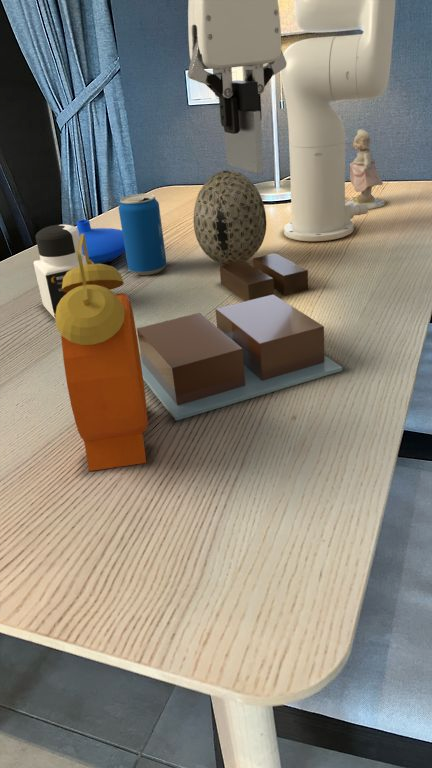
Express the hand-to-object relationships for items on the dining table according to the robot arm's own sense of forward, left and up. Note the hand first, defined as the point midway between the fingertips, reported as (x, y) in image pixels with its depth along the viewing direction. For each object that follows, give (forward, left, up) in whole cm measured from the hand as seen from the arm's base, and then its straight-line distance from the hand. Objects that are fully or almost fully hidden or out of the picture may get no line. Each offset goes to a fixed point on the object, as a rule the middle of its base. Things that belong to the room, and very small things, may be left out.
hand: (241, 129), depth 82 cm
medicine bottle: (+22, -17, -24) cm, 37 cm away
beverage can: (+7, -26, -24) cm, 36 cm away
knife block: (-5, -7, -24) cm, 25 cm away
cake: (+10, +14, -24) cm, 29 cm away
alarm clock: (+26, +22, -24) cm, 41 cm away
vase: (+14, -38, -24) cm, 47 cm away
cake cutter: (0, 0, -5) cm, 5 cm away
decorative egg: (-6, -20, -24) cm, 32 cm away
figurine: (-43, -38, -24) cm, 62 cm away
